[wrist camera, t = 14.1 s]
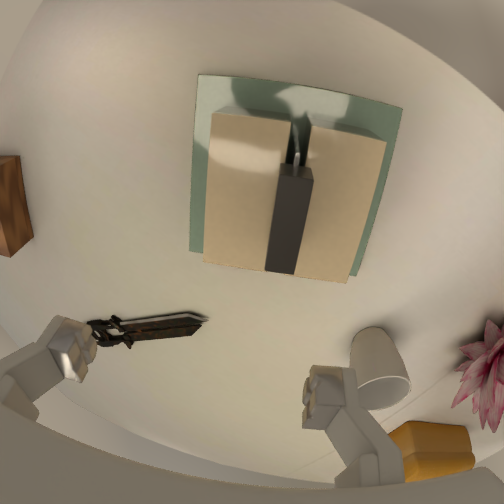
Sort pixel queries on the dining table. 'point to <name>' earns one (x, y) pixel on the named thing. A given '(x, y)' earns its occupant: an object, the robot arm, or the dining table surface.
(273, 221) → the metal bench scraper
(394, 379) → the cup
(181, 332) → the knife
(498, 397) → the decorative flower
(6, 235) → the knife block
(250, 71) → the dining table surface
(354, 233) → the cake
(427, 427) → the bread
